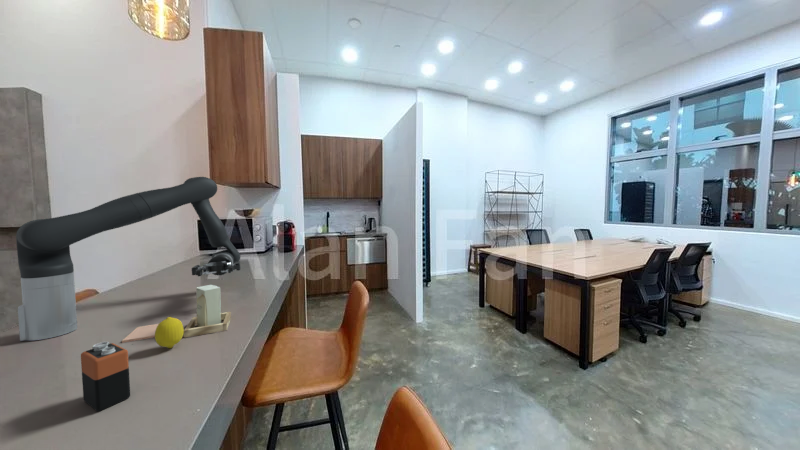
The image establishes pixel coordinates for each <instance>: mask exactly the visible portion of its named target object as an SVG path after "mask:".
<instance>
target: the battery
mask: <svg viewBox="0 0 800 450" xmlns="http://www.w3.org/2000/svg"><path fill="white" fill-rule="evenodd" d="M91 348H92V349H89V350H85V351H83V352H81V353H80V362H81V379H82V396H83V401H84V402H85V403H87V404H88V405H89V406H90V407H91V408H92V409H94V410H95V411H97V412H101V411H103V410H105V408H106V409H107V408H111V407H112V406H114V405H117V404H119V403H121V402H123V401H125V400H127V399H129V398H130V397H131V385H130V367H129V351H128V349H126V348H123V347H122V346H120V345H117V344H116V343H112V342H109V341H101V342H98V343H95V344H94V343H93V346H91Z"/></svg>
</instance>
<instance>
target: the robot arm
mask: <svg viewBox="0 0 800 450" xmlns="http://www.w3.org/2000/svg"><path fill="white" fill-rule="evenodd" d="M217 192H218V185H217V183H216V181H214V180H213V179H211V178H209V177H206V176H194V177H190V178H187V179H185V180H184V182H183V183H181V184H178V185H175V186H174V185H173V186H170V187H165V188H156V189H151V190H146V191H139V192H135V193H133V194H129V195H125V196H121V197H118V198H115V199H112V200H109V201H107V202H104V203H102V204H100V205H97V206H95V207H92V208H90V209H87V210H84V211H80V212H76V213H71V214H66V215H65V214H64V215H62V216H56V217H52V218H51V217H50V218H39V219H33V220H29V221H27V222H26V223H24V224H22V225H21V226H20V227H18V229H17V231H16V235H15V240H16V250H17V252H16V253H17V262H18V268H19V273H20V284H21V285H20V287H21V299H22V301H21V302H22V304H21V305H18V307H17V319H18V334H19V341H20V342H23V341H38V340H39V341H40V340H47V339H51V338H55V337H59V336H62V335H63V336H64V335H66V334H68V333H69V334H70V333H72V332H74V331H76V330H78V318H77V302H76V288H75V286H76V285H75V273H74V263H73V260H72V256H71V250H70V249H71V248H70V246H71V245H73V244H75V243H78V242H81V241H82V240H85V239H88V238H90V237H92V236H95V235H97V234H100V233H103V232H107V231H111V230H115V229H119V228H123V227H126V226H129V225H133V224H136V223H140V222H142V221H146V220H149V219H153V218H155V217H156V216H160V215H162V214H165V213H167V212H169V211H172V210H175V209H177V208H179V207H182V206H185V205H188V204H191V206H192V208H194V211H195V212H196V214H197V216H198V218H199V219H200V222H201V225H202V226H203V229H204V231H205V233H206V236H207V238H208V242H209V244H210V245H211V247H212V248H225V249H224V250H219V251H216V252H214V253H212V256H211V259H210V260H209V261H208V262H207V264H206V263H205V264H202V266H201V264H196V265H194V266H193V267H191V275H192V276H197V277H201V276H203V275H210V274H212V275H213V276H224V275H226V274H232V272H235V270H236V271H241V261H240V260H241V253H240V251H239V250H238V249H237V248H236V247H235V246H234V244H233V243H232V241H231V240H230V237H229V235H228V233H227V229H226V227H225V225H224V223H223V222H222V220H221V219H220V218H219V216H218V215H217V214H216V211H215V210H214V208H213V206H212V204H211V202H210V199H211V198H213V197H214V196H215V195H216V194H217Z"/></svg>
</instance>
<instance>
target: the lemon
mask: <svg viewBox="0 0 800 450" xmlns="http://www.w3.org/2000/svg"><path fill="white" fill-rule="evenodd" d="M157 324H158V326H157V328H156V331H155V337H154V339H155V340H154V341H155V342H156V344H157V345H158V346H160V347H163V348H168V349H172V348H173V347H174V346H175V345H177V344H178V343H179V342H180V341H181V340H182V339H183V338H184V329H185V328H184V325H183V322H182V321H181V320H180V319H178V318H176V317H172V316H168V317H166V318H165V319H163V320H162V321H160V322H159V323H157Z"/></svg>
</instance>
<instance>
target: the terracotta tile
mask: <svg viewBox="0 0 800 450" xmlns="http://www.w3.org/2000/svg"><path fill="white" fill-rule="evenodd" d="M158 324H159V323H156V324H155V323H154V324H149V325H143V326H142V325H141V326H137V327H136V328H135V329H134V330H132V331H131V332H130V333H129V334H128V335H127V336H126V337H124V338H123V339H122V340H121V342H122V344H124V343H130V342H135V341H142V340H147V339H153V338H154V339H155V331H156V328H157V326H158Z"/></svg>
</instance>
